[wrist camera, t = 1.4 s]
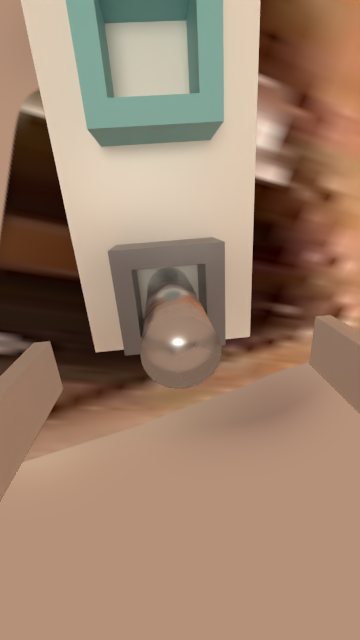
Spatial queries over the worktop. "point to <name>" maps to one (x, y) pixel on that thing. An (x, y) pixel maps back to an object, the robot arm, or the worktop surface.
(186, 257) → the mount board
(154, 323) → the lock pin
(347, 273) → the worktop surface
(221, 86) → the socket
